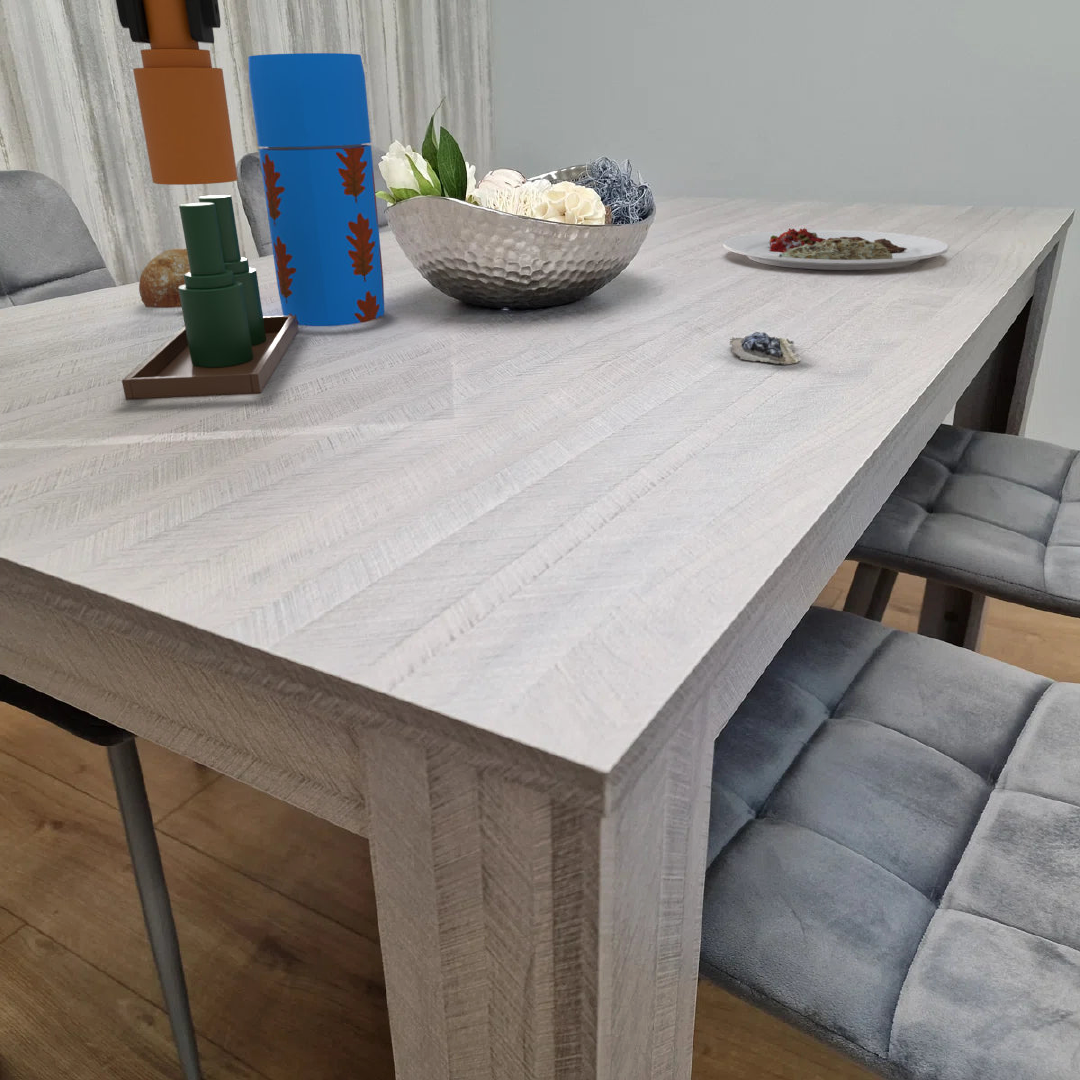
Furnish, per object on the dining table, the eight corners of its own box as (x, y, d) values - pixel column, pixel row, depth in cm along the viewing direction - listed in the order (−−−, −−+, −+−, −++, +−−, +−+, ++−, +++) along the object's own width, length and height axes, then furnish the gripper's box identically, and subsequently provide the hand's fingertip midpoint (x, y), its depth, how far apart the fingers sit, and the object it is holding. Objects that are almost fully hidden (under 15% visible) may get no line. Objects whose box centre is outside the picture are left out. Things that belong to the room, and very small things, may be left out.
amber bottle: (142, 185, 58) (98, -63, 52) (165, 178, 63) (126, -50, 57) (228, 184, 58) (193, -63, 53) (244, 177, 63) (214, -50, 57)
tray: (127, 406, 72) (121, 380, 71) (194, 340, 92) (190, 319, 91) (261, 400, 73) (257, 374, 72) (299, 336, 93) (296, 315, 92)
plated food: (924, 281, 113) (928, 252, 111) (690, 266, 127) (692, 240, 125) (961, 248, 136) (965, 224, 135) (760, 238, 150) (762, 216, 149)
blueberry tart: (778, 340, 87) (780, 320, 87) (826, 360, 80) (829, 338, 80) (712, 347, 86) (714, 326, 85) (756, 368, 79) (758, 346, 78)
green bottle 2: (203, 349, 86) (177, 200, 81) (215, 337, 91) (191, 194, 85) (261, 347, 87) (239, 198, 81) (270, 334, 91) (250, 193, 86)
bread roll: (174, 326, 115) (132, 267, 112) (246, 286, 115) (207, 225, 111) (159, 344, 106) (114, 281, 103) (237, 301, 106) (194, 236, 102)
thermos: (263, 321, 100) (225, 58, 89) (347, 306, 106) (321, 59, 96) (321, 336, 93) (286, 52, 82) (407, 318, 99) (385, 54, 89)
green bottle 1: (185, 369, 80) (155, 208, 74) (199, 354, 85) (172, 202, 79) (247, 366, 80) (222, 206, 75) (258, 351, 85) (235, 200, 79)
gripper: (-87, -392, 45) (9, 40, 53) (257, -382, 46) (301, 38, 54) (-18, -328, 52) (58, 46, 60) (281, -321, 53) (317, 45, 61)
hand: (173, 39), depth 57 cm, fingers closed on amber bottle, 2 cm apart
